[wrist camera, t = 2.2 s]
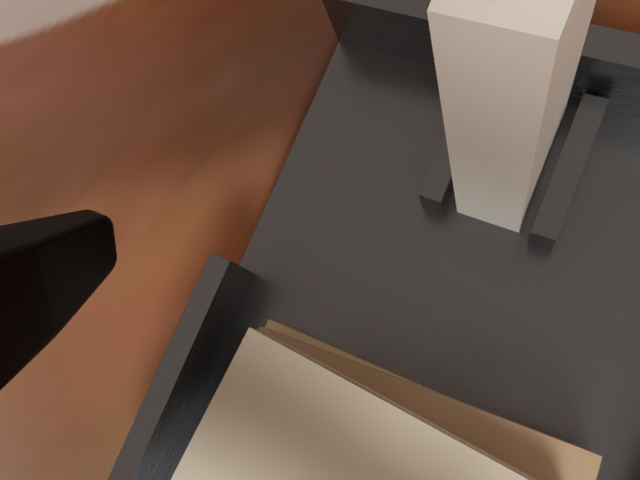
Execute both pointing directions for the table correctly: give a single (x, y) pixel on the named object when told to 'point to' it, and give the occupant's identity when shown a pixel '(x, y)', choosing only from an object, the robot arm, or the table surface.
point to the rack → (434, 254)
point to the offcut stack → (356, 424)
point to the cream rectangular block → (503, 95)
